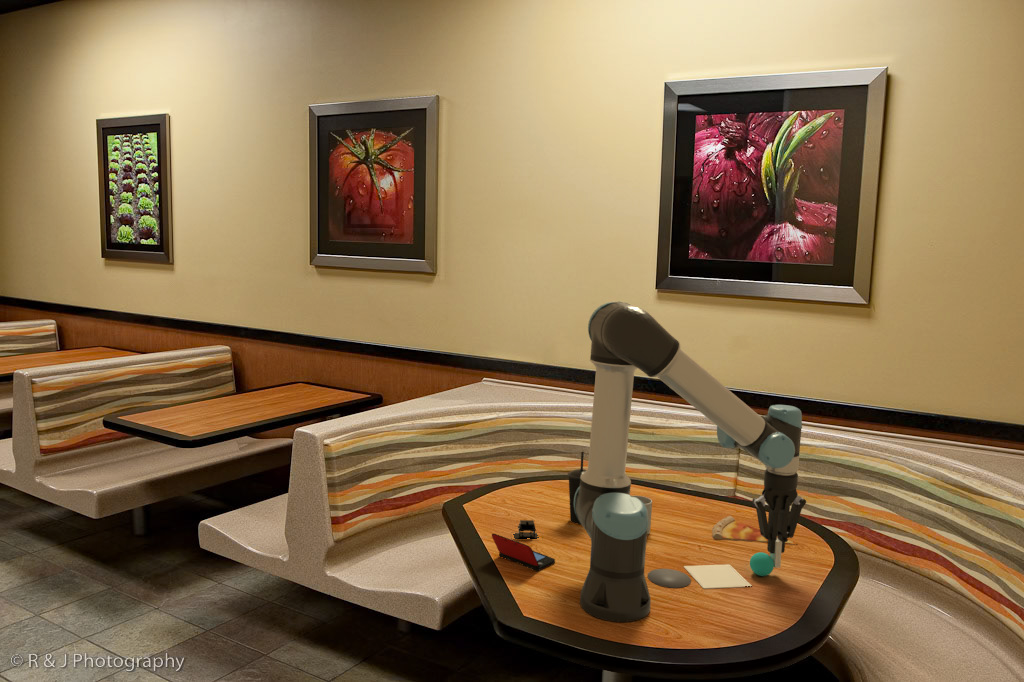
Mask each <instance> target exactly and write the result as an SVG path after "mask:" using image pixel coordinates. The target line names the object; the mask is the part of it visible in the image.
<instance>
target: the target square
mask: <svg viewBox="0 0 1024 682" xmlns="http://www.w3.org/2000/svg"><path fill="white" fill-rule="evenodd" d="M683 568H684V569H685V570H686V571H687V572H688V574H689V575H690V576H691V577H692V578H693V579H694V580H695V581H696V583H698V585H700V587H701V588H702V589H704V590H709V589H710V590H711V589H729V588H731V589H732V588H752V587H753V585H752V584H751V583H750V582H749V581H748V580H746V579H745V577H743V576H742V575H741V574H740V573H739V572H738V571H737V570H736V569H735V568H734V567H733V566H732V565H731V564H729V563H726V564H710V565H709V564H708V565H707V564H705V565H702V564H701V565H699V564H698V565H684V566H683ZM745 586H747V587H745ZM748 586H750V587H748ZM751 586H752V587H751Z"/></svg>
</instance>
